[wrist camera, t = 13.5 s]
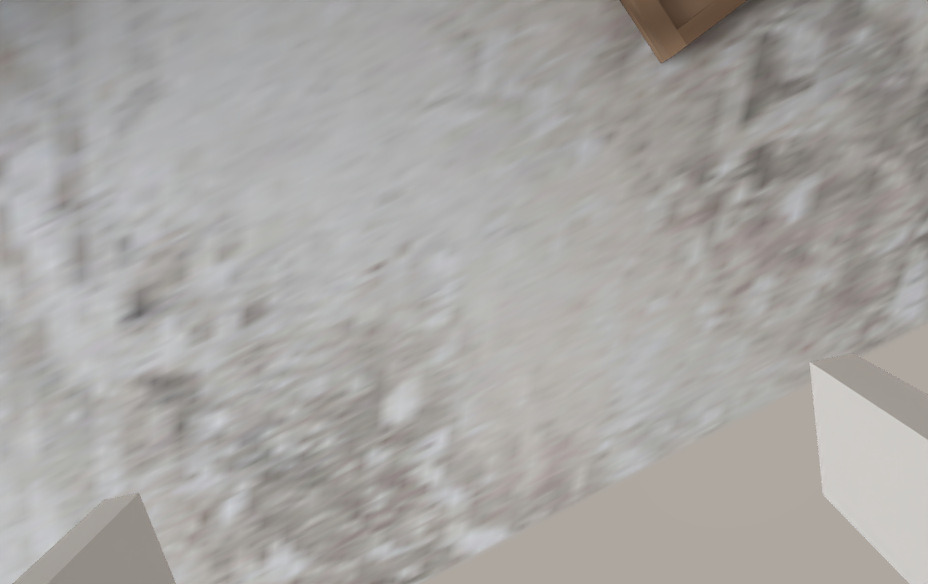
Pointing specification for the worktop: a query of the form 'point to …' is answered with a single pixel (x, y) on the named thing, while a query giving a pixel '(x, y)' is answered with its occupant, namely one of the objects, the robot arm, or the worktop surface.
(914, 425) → the robot arm
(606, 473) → the worktop surface
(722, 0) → the tray
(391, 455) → the worktop surface
